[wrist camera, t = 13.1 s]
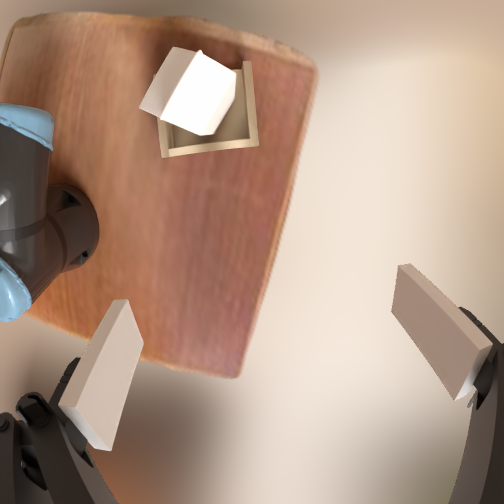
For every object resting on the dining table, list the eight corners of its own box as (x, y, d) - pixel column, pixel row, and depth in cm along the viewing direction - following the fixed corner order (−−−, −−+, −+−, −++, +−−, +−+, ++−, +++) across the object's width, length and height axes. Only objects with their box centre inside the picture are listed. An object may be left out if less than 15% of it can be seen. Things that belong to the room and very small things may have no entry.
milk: (234, 99, 38) (240, 64, 17) (214, 135, 39) (198, 137, 19) (197, 81, 36) (165, 33, 16) (177, 117, 38) (125, 105, 18)
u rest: (171, 154, 41) (161, 158, 35) (163, 81, 36) (153, 74, 31) (255, 144, 41) (258, 145, 36) (248, 70, 37) (250, 60, 31)
